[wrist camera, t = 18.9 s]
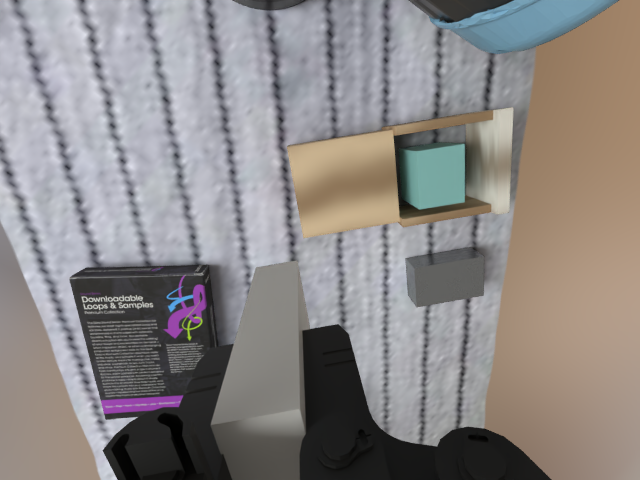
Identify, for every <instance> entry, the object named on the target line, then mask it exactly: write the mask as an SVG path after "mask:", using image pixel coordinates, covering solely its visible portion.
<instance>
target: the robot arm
mask: <svg viewBox="0 0 640 480" xmlns="http://www.w3.org/2000/svg"><path fill="white" fill-rule="evenodd" d="M233 1H235V2H237V3H239V4H242V5H244V6H248V7H251V8H255V9H262V10H276V9H283V8H287V7H291V6H294V5H296V4H299V3H301V2H303V1H304V0H233ZM409 1H410V2H412V3H413V4H414V5H416V6H417V7H418V8H419V9H421V10H422V11H423V12H425V13H426V14H427V15H428V16H429V18H430V20H431V22H432V23H433V24H435V25H436V26H438V27H440V28H443V29H450V30H451V31H453V32H454V33H456V34H457V35H459V36H460V37H462V38H463V39H465V40H466V41H468V42H469V43H471V44H472V45H474V46H475V47H477V48H478V49H480V50H483V51H485V52H489V53H495V54H501V53H507V52H512V51H524V50H527V49H530V48H533V47H536V46H539V45H541V44H544V43H546V42H549V41H551V40H553V39H555V38H557V37H559V36H561V35H563V34H565V33H567V32H569V31H571V30H573V29H575V28H577V27H578V26H580V25H582V24H583V23H585V22H587V21H588V20H590V19H592V18H593V17H595V16H596V15H598V14H599V13H601V12H602V11H604V10H606V9H607V8H609V7H610V6H611V5H613V4H615V3H616V2H618V1H619V0H409ZM185 392H186V393H185V395H183V398H182V400H181V402H180V405H179V407H162V408H159V409H156V410H153V411H150V412H147V413H145V414H143V415H142V416H140V417H138V418H136V419H135V420H133V421H131V422H130V423H129V424H127V425H126V426H125V427H124V428H123V429H121V430H120V431H119V432H118V433H117V434H116V435H115V436H114V437H113V438H112V439H111V441H110V442H109V443H108V445H107V446H106V447H105V448H104V450H103V452H104V454H105V456H106V458H107V460H108V462H109V464H110V466H111V468H112V469H113V471H114V473H115V475H116V477H117V479H118V480H551V479H550V478H549V477H548V476H547V475H546V474H545V473H544V472H543V471H542V470H541V469H540V468H539V467H538V466H537V465H536V464H535V463H534V462H533V461H532V460H531V459H530V458H529V457H528V456H527V455H526V454H525V453H524V452H523V451H522V450H521V449H519V448H518V447H517V446H515V445H514V444H513V443H512V442H510V441H509V440H508V439H506V438H505V437H504V436H501V435H499V434H496V433H494V432H492V431H489V430H487V429H482V428H474V427H464V428H460V429H455V430H452V431H450V432H449V433H448V434H446V435H445V436H444V437H443V438H441V439H440V442H439V444H438V446H437V447H436V446H429V445H422V444H415V443H409V442H405V441H401V440H398V439H396V438H394V437H392V436H390V435H388V434H387V433H386V432H384V431H383V430H382V429H380V428H379V427H378V425H377V424H376V423H375V421H374V420H373V419H372V416H371V414H370V412H369V409H368V405H367V401H366V398H365V394H364V390H363V386H362V383H361V379H360V375H359V371H358V368H357V364H356V361H355V356H354V353H353V349H352V345H351V341H350V338H349V334H348V333H347V332H346V331H345V330H344V329H343V328H342V327H340V326H339V325H338V324H337V325H331V326H325V327H320V328H314V329H310V325H309V319H308V314H307V309H306V304H305V298H304V293H303V288H302V283H301V278H300V272H299V267H298V262H297V261H291V262H285V263H280V264H274V265H268V266H262V267H256V269H255V273H254V276H253V280H252V283H251V287H250V290H249V294H248V297H247V301H246V304H245V307H244V311H243V314H242V318H241V321H240V325H239V328H238V332H237V335H236V339H235V342H234V344H231V345H225V346H219V347H214V348H210V349H209V350H208V351H207V353H206V354H205V355H204V356H203V357H202V358H201V359H200V360H199V361H198V362H197V365H196V367H195V370H194V372H193V374H192V377H191V381H189V384H188V386H187V388H186V391H185Z"/></svg>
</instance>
